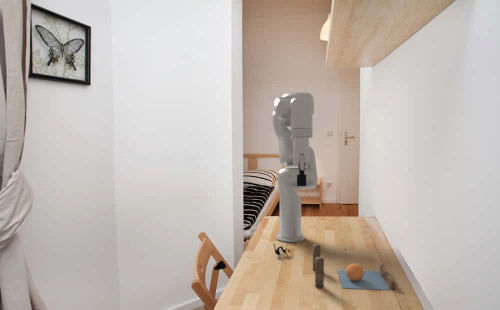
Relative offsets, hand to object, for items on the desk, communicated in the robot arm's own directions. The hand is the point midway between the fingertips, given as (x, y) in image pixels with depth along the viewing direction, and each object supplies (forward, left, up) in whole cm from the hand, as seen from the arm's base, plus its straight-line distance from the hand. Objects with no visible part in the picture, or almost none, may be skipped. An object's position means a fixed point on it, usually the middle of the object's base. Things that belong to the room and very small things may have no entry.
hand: (301, 185), depth 128 cm
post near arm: (+4, +5, -29) cm, 30 cm away
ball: (+11, +17, -26) cm, 33 cm away
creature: (-10, -6, -30) cm, 32 cm away
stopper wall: (+10, +27, -29) cm, 41 cm away
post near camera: (+16, +5, -29) cm, 34 cm away
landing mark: (+10, +19, -29) cm, 36 cm away
